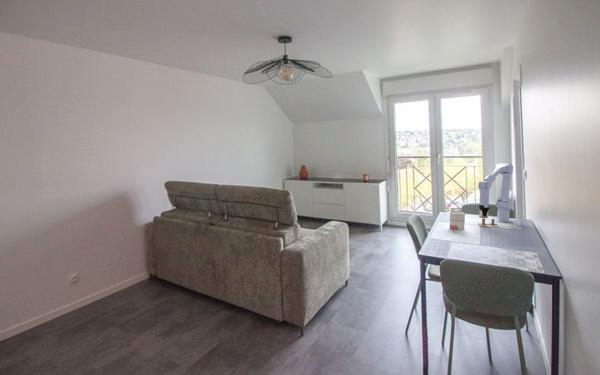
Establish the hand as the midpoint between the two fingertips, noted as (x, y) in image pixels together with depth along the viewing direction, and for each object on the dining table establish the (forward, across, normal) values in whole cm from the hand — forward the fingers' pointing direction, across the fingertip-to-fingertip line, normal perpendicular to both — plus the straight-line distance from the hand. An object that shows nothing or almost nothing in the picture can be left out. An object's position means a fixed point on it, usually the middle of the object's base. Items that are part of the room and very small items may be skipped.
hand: (483, 215), depth 237 cm
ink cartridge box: (+8, +12, -19) cm, 24 cm away
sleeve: (+1, 0, 0) cm, 1 cm away
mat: (+7, -4, +14) cm, 16 cm away
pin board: (+7, 0, +3) cm, 8 cm away
